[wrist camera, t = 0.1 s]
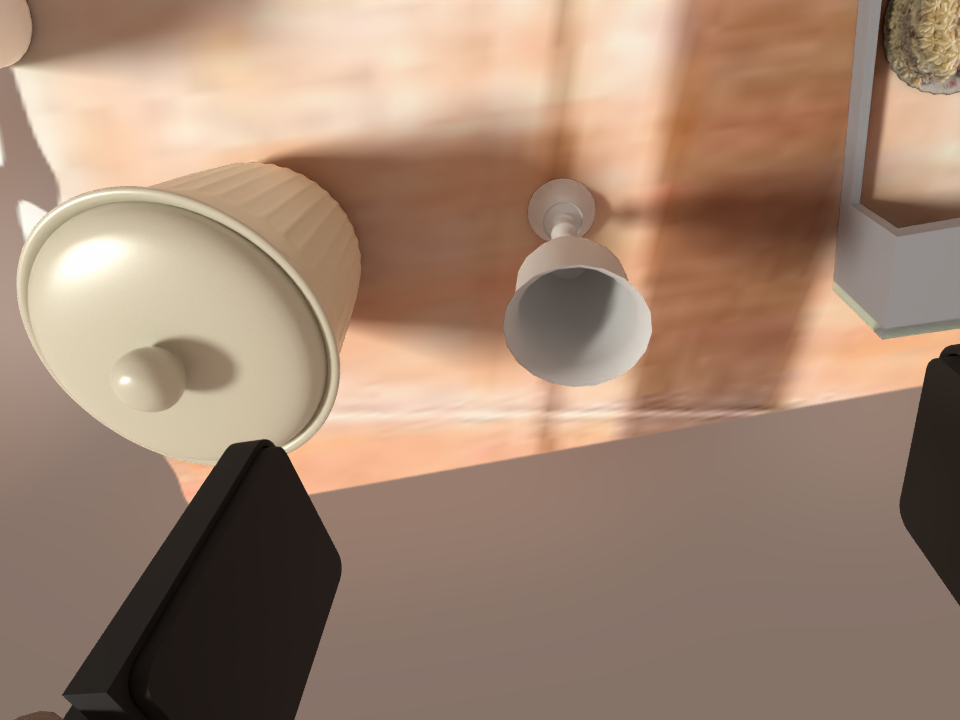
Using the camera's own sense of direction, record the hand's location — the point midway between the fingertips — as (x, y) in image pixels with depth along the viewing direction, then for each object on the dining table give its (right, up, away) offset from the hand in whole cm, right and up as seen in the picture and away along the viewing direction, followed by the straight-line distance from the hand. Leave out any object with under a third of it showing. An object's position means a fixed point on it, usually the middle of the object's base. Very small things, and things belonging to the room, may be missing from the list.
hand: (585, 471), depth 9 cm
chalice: (+5, +13, +35) cm, 38 cm away
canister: (-17, +11, +38) cm, 43 cm away
